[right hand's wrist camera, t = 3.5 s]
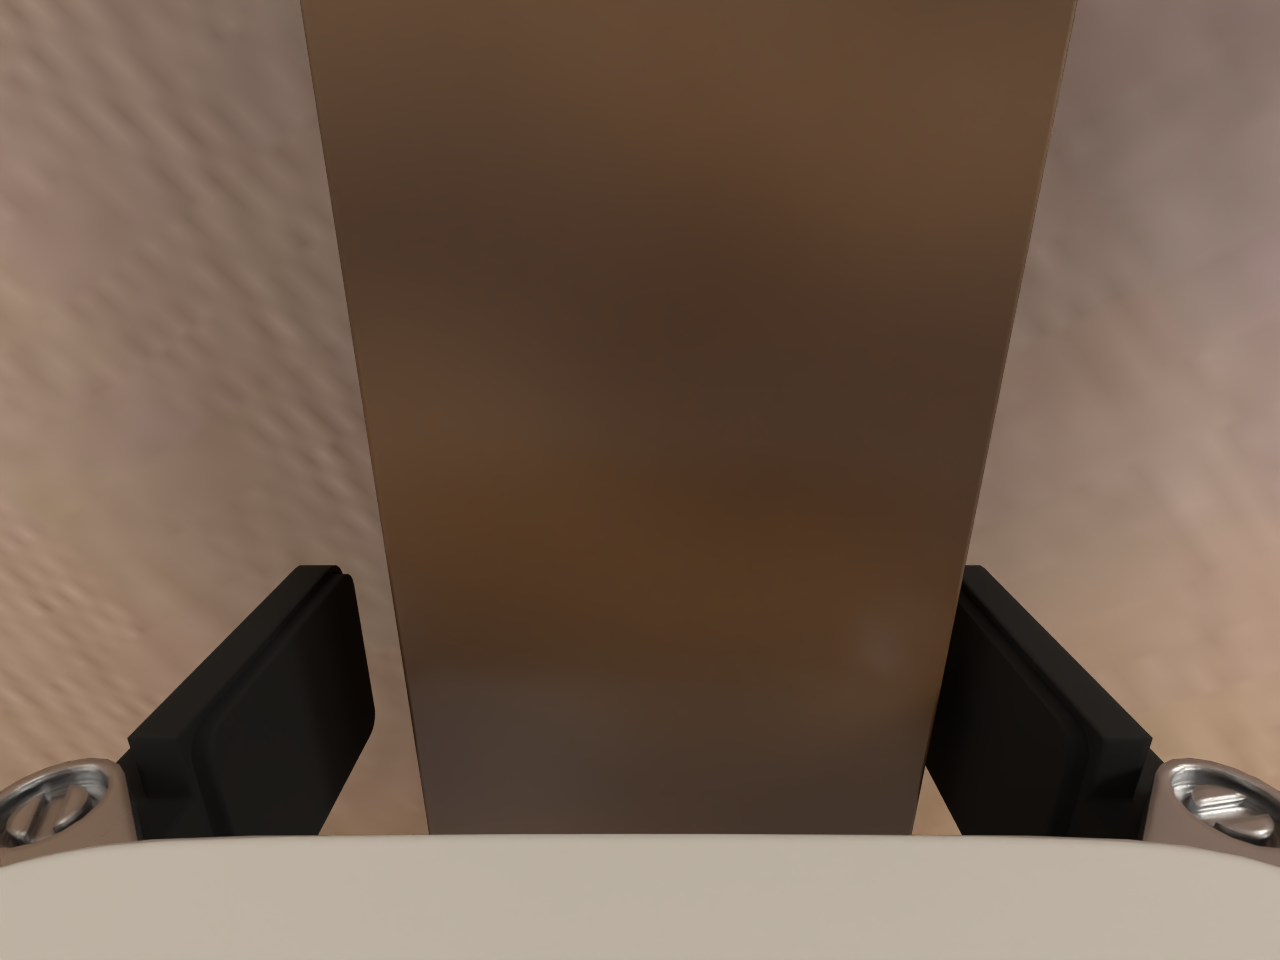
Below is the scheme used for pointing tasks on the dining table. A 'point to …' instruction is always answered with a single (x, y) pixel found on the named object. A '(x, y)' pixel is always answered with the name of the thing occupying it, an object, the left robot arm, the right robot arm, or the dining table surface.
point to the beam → (680, 384)
